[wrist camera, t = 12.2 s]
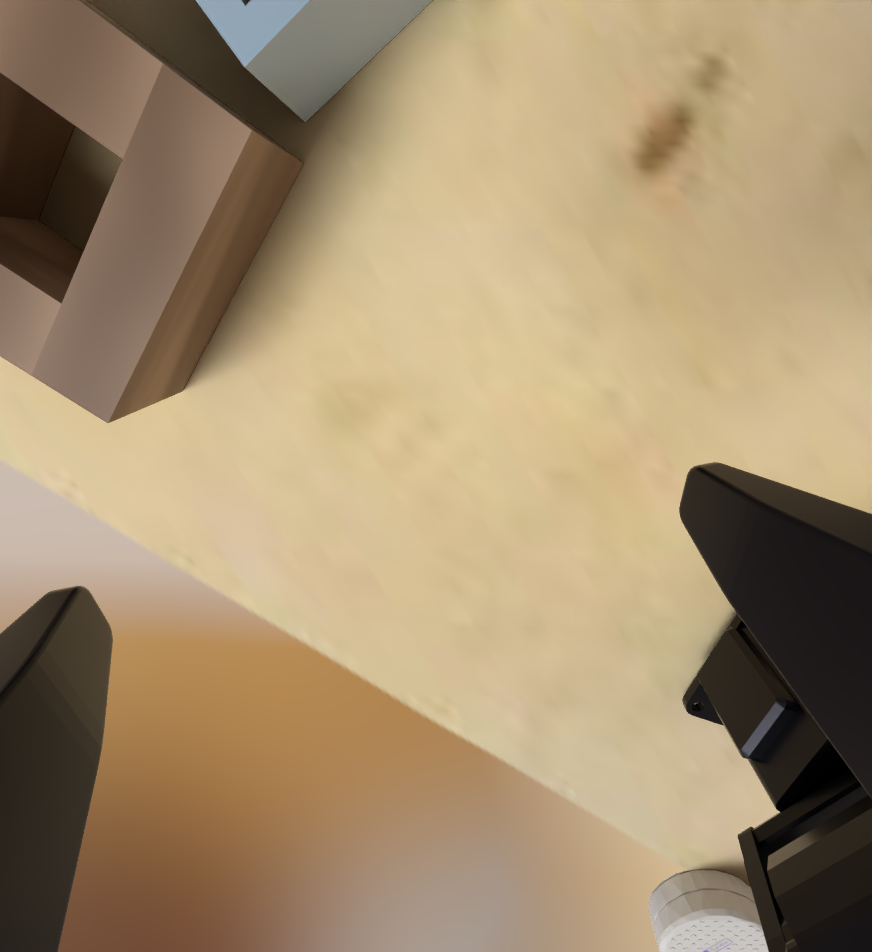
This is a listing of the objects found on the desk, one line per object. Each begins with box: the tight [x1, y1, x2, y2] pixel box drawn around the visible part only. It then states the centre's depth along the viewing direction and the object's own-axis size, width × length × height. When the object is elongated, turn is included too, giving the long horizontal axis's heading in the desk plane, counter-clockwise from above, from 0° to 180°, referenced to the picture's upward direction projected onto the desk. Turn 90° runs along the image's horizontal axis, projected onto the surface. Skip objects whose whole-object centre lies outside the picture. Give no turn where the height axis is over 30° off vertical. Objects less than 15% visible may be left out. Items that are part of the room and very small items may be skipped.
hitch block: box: [0, 0, 304, 423], centre depth 16 cm, size 9×9×4 cm
